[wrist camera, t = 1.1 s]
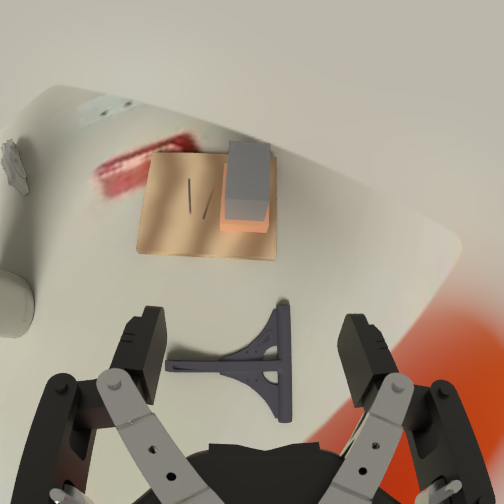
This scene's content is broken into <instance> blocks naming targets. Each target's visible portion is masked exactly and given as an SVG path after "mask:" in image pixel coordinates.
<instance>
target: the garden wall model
mask: <svg viewBox="0 0 504 504" xmlns="http://www.w3.org/2000/svg"><path fill="white" fill-rule="evenodd" d="M12 141H13V140H12V139H10V140H7V142H6V143H3V144H2V145H3V146H2V147H1V148H2V151H3V152H2V153H3V158H2V159H1V162H2V165H3V167H4V168H3V169H5V171H6V173H7V174H6V175H7V177H8V181H9V182H8V183H9V185H12V186H13V187H15V188H16V189H17V190H18V191H19V192H21V193H22V194H23V195H24V196H25V195H26V194H27V193H28V192H29V188H28V185H27V182H26V172H25V169H24V167H23V166H22V164H21V160H20V156H19V151H18V147H17V146H16V144H15V143H14V142H12Z"/></svg>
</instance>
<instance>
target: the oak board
mask: <svg viewBox="0 0 504 504" xmlns="http://www.w3.org/2000/svg"><path fill="white" fill-rule="evenodd" d="M224 163H228V154H212V153H153V155H152V159H151V164H150V169H149V174H148V179H147V184H146V190H145V195H144V201H143V207H142V213H141V219H140V225H139V232H138V239H137V246H136V251H137V252H138V253H139V254H156V255H174V256H193V257H212V258H231V259H251V260H271V261H274V260H275V258H276V157H270V202H269V227H268V230H267V233H258V232H240V231H220V211H221V198H222V185H223V173H224Z"/></svg>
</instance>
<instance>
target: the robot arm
mask: <svg viewBox="0 0 504 504" xmlns="http://www.w3.org/2000/svg"><path fill="white" fill-rule="evenodd" d="M33 313H34V299H33V294H32V291H31V289H30V286H29V285H28V283H27V282H26V281H25V280H24V279H23V278H22V277H20V276H17V275H15V274H12V273H10V272H7V271H5V270H2V269H0V337H5V338H17V337H20V336H21V335H23V334H24V333H25V332H26V331H27V330H28V328H29V326H30V324H31V321H32V318H33ZM166 345H167V329H166V322H165V315H164V309H163V307H157V306H146V307H145V309H144V311H143V314H142V317H136V316H134V317H133V318H132V319H131V320H130V321H129V322H128V323H127V324H126V326H125V329H124V331H123V334H122V336H121V339H120V342H119V344H118V347H117V349H116V352H115V355H114V357H113V360H112V363H111V366H110V368H109V369H108V370H105V371H104V372H102V373H101V374H100V375H99V377H98V378H97V379H94V380H86V381H76V380H75V378H74V377H73V376H72V375H70V374H67V373H59V374H56V375H54V376H52V377H51V378H50V379H49V380H48V382H47V384H46V386H45V389H44V392H43V394H42V397H41V400H40V402H39V405H38V408H37V411H36V414H35V416H34V419H33V422H32V425H31V428H30V431H29V435H28V438H27V441H26V444H25V448H24V451H23V455H22V458H21V462H20V465H19V469H18V473H17V477H16V481H15V486H14V490H13V495H12V499H11V504H94V503H93V501H92V500H91V499H90V498H89V497H87V496H86V495H85V490H86V484H87V478H88V472H89V466H90V461H91V455H92V450H93V445H94V440H95V436H96V431H97V429H100V428H110V427H116V429H117V431H118V433H119V435H120V436H121V438H122V440H123V442H124V444H125V446H126V447H127V449H128V451H129V453H130V454H131V456H132V458H133V460H134V461H135V463H136V465H137V466H138V468H139V469H140V471H141V473H142V474H143V476H144V477H145V479H146V481H147V482H148V484H149V485H150V487H151V488H150V489H149V490H148V491H147V492H145V493H144V494H143V495H142V496H141V497H140V498H138V499H137V500H136V501H135V502H134V503H132V504H401V503H400V502H398V501H397V500H396V499H394V498H393V497H391V496H390V495H389V494H388V493H386V492H385V491H384V490H383V489H381V488H380V487H379V484H380V482H381V480H382V478H383V476H384V474H385V472H386V470H387V468H388V465H389V463H390V461H391V459H392V456H393V454H394V452H395V449H396V447H397V445H398V442H399V440H400V437H401V435H402V432H403V430H405V432H406V435H407V439H408V443H409V446H410V451H411V455H412V458H413V462H414V466H415V470H416V475H417V479H418V483H419V488H420V493H419V494H418V495H417V497H416V499H415V504H495V502H496V501H495V495H494V492H493V488H492V485H491V481H490V478H489V475H488V472H487V469H486V466H485V463H484V460H483V457H482V454H481V451H480V448H479V445H478V443H477V440H476V437H475V435H474V432H473V430H472V427H471V424H470V422H469V419H468V417H467V414H466V412H465V409H464V407H463V405H462V402H461V400H460V398H459V396H458V393H457V391H456V389H455V387H454V386H453V385H452V384H451V383H449V382H448V381H445V380H437V381H435V382H433V383H432V385H431V386H430V387H425V386H418V385H414V384H413V383H412V381H411V380H410V379H409V378H408V377H407V376H406V375H404V374H400V373H399V371H398V369H397V366H396V364H395V362H394V360H393V357H392V355H391V353H390V351H389V349H388V346H387V344H386V342H385V340H384V338H383V335H382V333H381V332H380V331H379V330H378V329H377V328H376V327H375V326H374V325H369V324H368V322H367V319H366V317H365V315H364V314H347V315H346V316H345V319H344V322H343V325H342V328H341V331H340V334H339V337H338V343H337V347H338V353H339V356H340V359H341V362H342V366H343V369H344V372H345V376H346V379H347V383H348V386H349V390H350V393H351V397H352V400H353V404H354V407H355V408H358V407H364V411H365V412H364V414H363V415H362V417H361V419H360V421H359V423H358V425H357V427H356V428H355V430H354V432H353V434H352V436H351V437H350V439H349V441H348V443H347V444H346V446H345V448H344V449H343V451H342V452H341V454H340V455H338V454H336V453H333V452H331V451H328V450H324V449H320V447H319V442H313V443H299V444H291V445H287V446H283V447H279V448H276V449H272V450H267V451H263V450H258V449H253V448H249V447H244V446H240V445H233V444H211V443H209V450H205V451H201V452H197V453H194V454H192V455H190V456H188V457H186V458H185V456H184V455H183V454H182V452H181V451H180V450H179V448H178V447H177V445H176V444H175V443H174V441H173V440H172V438H171V437H170V435H169V434H168V433H167V431H166V430H165V428H164V427H163V425H162V424H161V422H160V421H159V419H158V418H157V416H156V415H155V414H154V413H152V412H151V411H150V409H149V407H148V406H147V404H148V405H153V404H154V399H155V394H156V389H157V385H158V380H159V376H160V371H161V367H162V362H163V358H164V354H165V350H166Z"/></svg>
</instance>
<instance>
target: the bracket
mask: <svg viewBox="0 0 504 504" xmlns="http://www.w3.org/2000/svg"><path fill="white" fill-rule="evenodd" d="M276 345H277V349H278V357H277V359H276V360H267V361H262V357H263V355H264V353H265V351H266V350H267V349H268V348H270V347H272V346H276ZM247 351H248V353H247ZM256 351H257V352H256ZM165 371H168V372H220V375H224V376H227V377H230V378H234V379H236V380H238V381H240V382H242V383H245V384H246V385H248V386H250V387H251V388H252V389H254V390H255V391H256V392H257V393H258V394H259V395H260V396H261V397H262V398H263V399H264V400H265V401H266V403H267V404H268V406H269V407H270V409H271V411H272V412H273V414H274V416H275V418H278V420H279V422H280V423H289V422H292V364H291V323H290V305H280V306H276V310H273V312H272V315H271V317H270V319H269V321H268V323H267V325H266V327H265V328H264V330H263V331H262V333H261V334H260V335H259V336H258V338H257V339H256V340H255V341H254V342H253V343H251V344H250V345H249V346H248V347H246V348H245V349H243V350H241V351H239V352H238V353H235V354H233V355H230V356H227V357H224V358H221V359H219V361H183V360H165ZM266 371H277V372H278V385H274V384H271V383H269V382H267V381H266V380H265V378H264V376H263V372H266ZM256 379H257V381H256ZM247 380H248V381H247Z"/></svg>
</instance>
